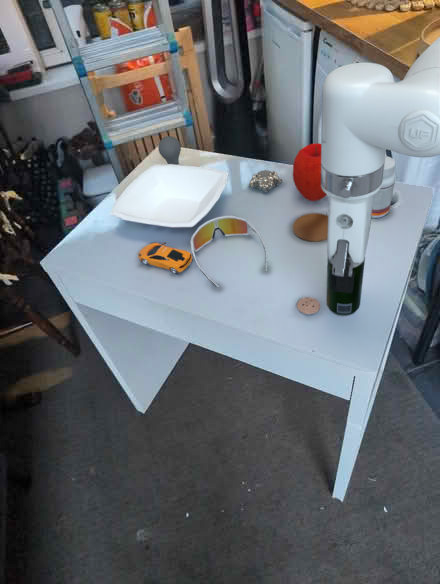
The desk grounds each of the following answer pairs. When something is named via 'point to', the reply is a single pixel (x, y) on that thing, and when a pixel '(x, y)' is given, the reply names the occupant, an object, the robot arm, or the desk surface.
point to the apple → (309, 172)
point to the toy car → (165, 257)
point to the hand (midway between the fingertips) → (344, 275)
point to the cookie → (308, 305)
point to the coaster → (311, 227)
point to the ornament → (265, 180)
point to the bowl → (171, 195)
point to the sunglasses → (227, 228)
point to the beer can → (340, 300)
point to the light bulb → (170, 149)
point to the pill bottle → (384, 190)
